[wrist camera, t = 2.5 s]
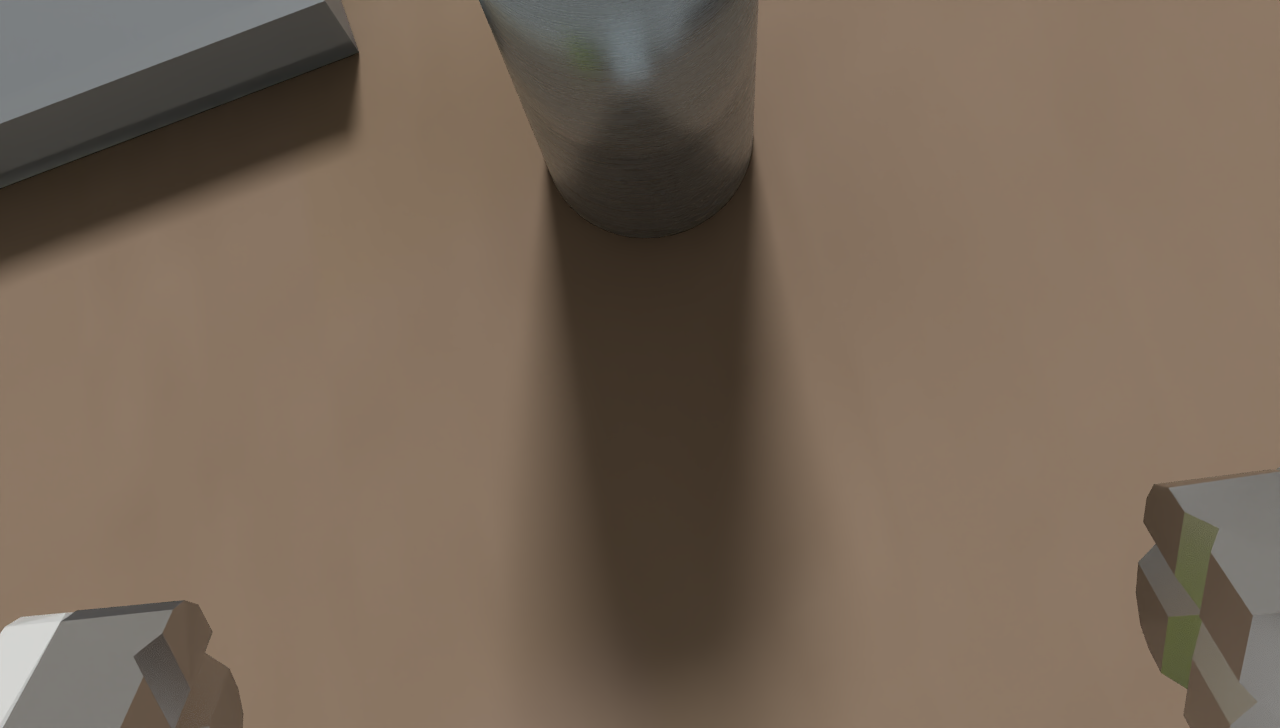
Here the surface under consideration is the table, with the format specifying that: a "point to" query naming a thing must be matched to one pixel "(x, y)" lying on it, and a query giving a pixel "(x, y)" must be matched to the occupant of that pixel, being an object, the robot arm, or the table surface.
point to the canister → (636, 103)
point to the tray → (143, 67)
